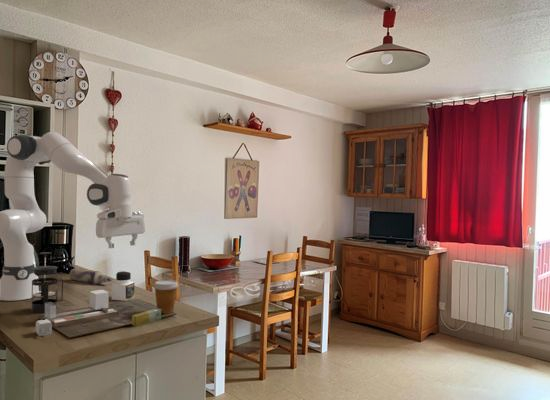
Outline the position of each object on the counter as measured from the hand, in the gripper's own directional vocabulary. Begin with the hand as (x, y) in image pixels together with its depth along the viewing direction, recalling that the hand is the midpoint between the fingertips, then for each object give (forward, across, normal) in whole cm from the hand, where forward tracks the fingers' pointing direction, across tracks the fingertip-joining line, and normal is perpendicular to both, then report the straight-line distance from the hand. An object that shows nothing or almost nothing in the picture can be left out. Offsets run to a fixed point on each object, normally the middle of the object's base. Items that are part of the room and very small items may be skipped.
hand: (122, 246), depth 169 cm
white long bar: (+23, +18, -2) cm, 30 cm away
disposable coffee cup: (+27, -9, +15) cm, 32 cm away
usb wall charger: (+25, +34, +9) cm, 44 cm away
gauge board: (+25, +18, 0) cm, 30 cm away
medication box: (+27, +4, +21) cm, 35 cm away
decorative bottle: (+23, -12, -55) cm, 61 cm away
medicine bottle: (+25, -8, -15) cm, 30 cm away
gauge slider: (+23, +11, +1) cm, 25 cm away
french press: (+24, +23, -20) cm, 38 cm away
